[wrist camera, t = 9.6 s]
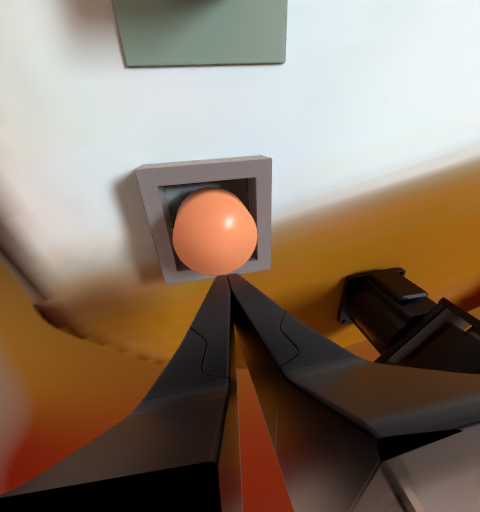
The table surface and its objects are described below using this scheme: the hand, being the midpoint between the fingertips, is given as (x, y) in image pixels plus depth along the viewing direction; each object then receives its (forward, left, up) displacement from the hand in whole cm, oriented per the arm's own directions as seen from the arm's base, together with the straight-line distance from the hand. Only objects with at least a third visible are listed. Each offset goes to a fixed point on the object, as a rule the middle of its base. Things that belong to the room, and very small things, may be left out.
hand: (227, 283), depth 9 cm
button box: (0, 0, -9) cm, 9 cm away
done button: (0, 0, -7) cm, 7 cm away
